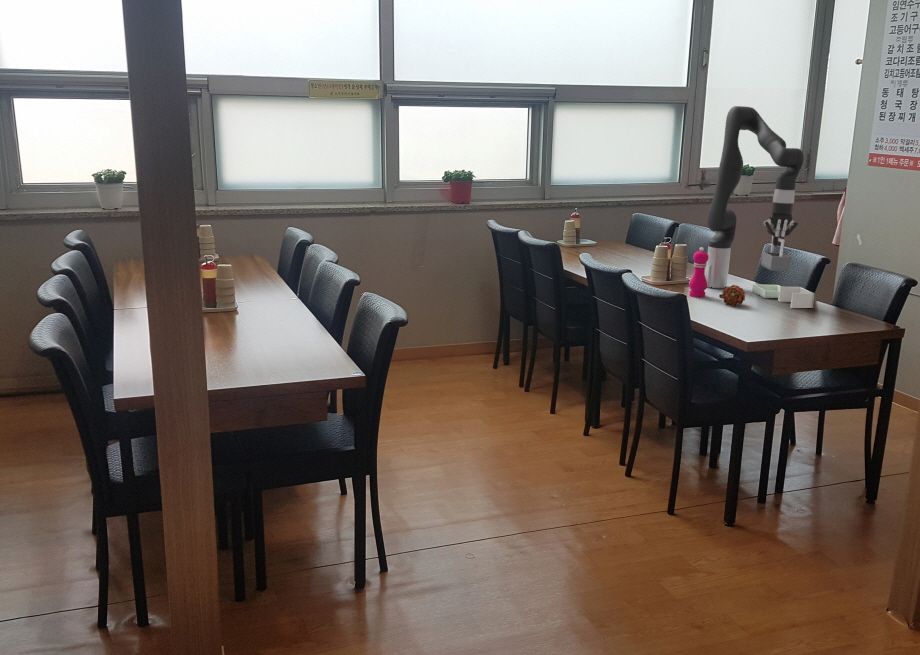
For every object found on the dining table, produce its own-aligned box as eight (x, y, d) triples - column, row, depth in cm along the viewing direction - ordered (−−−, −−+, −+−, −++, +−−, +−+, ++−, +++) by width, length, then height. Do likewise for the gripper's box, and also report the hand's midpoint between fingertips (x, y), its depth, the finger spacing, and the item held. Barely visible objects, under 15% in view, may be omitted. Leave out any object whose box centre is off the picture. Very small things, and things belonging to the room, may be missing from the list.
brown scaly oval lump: (735, 312, 305) (724, 309, 317) (754, 299, 305) (742, 297, 317) (723, 294, 304) (712, 292, 316) (742, 281, 304) (730, 280, 316)
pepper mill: (704, 294, 329) (709, 246, 324) (707, 298, 322) (712, 248, 317) (686, 293, 330) (691, 245, 325) (689, 297, 323) (694, 248, 318)
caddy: (770, 270, 309) (774, 239, 305) (760, 265, 318) (764, 235, 315) (788, 271, 309) (792, 240, 305) (778, 266, 318) (782, 236, 315)
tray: (764, 298, 324) (765, 291, 323) (752, 291, 337) (752, 284, 336) (790, 299, 324) (791, 291, 323) (777, 291, 337) (778, 284, 336)
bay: (791, 308, 307) (793, 293, 305) (778, 301, 319) (779, 286, 318) (812, 309, 307) (814, 293, 306) (798, 301, 319) (800, 287, 318)
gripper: (796, 200, 310) (790, 245, 315) (762, 199, 310) (756, 244, 315) (804, 203, 303) (798, 248, 308) (769, 201, 303) (763, 247, 308)
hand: (777, 246), depth 311 cm, fingers closed on caddy, 1 cm apart
